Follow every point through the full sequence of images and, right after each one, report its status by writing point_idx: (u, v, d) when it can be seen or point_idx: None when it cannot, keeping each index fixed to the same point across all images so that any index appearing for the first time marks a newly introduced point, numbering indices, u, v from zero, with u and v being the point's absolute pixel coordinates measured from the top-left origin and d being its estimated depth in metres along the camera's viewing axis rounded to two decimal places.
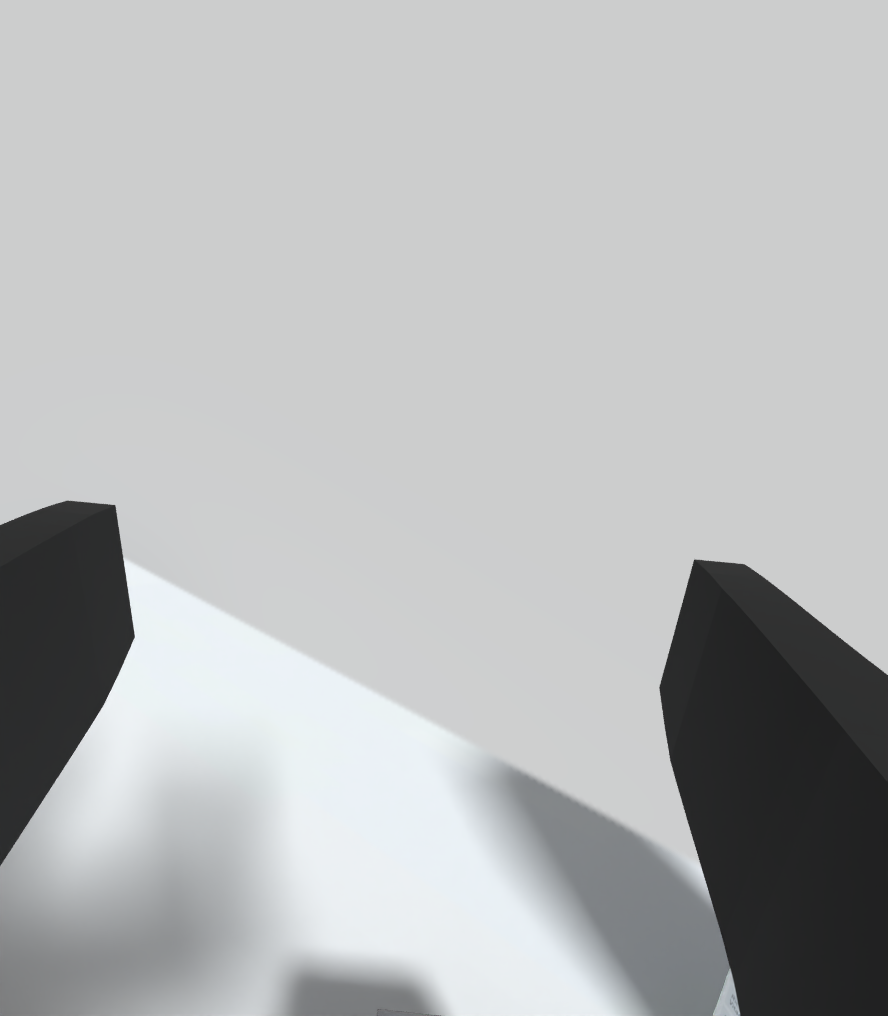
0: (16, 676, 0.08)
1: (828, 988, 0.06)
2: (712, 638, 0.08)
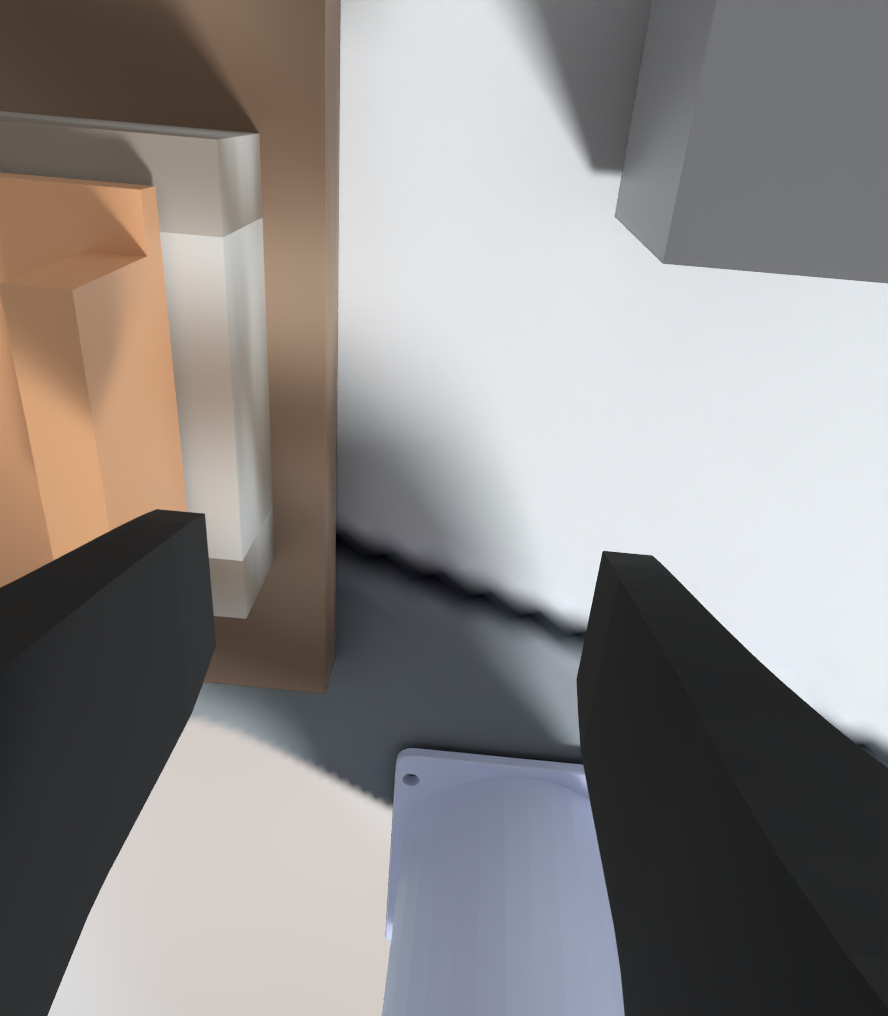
0: (125, 687, 0.08)
1: (681, 973, 0.06)
2: (611, 628, 0.08)
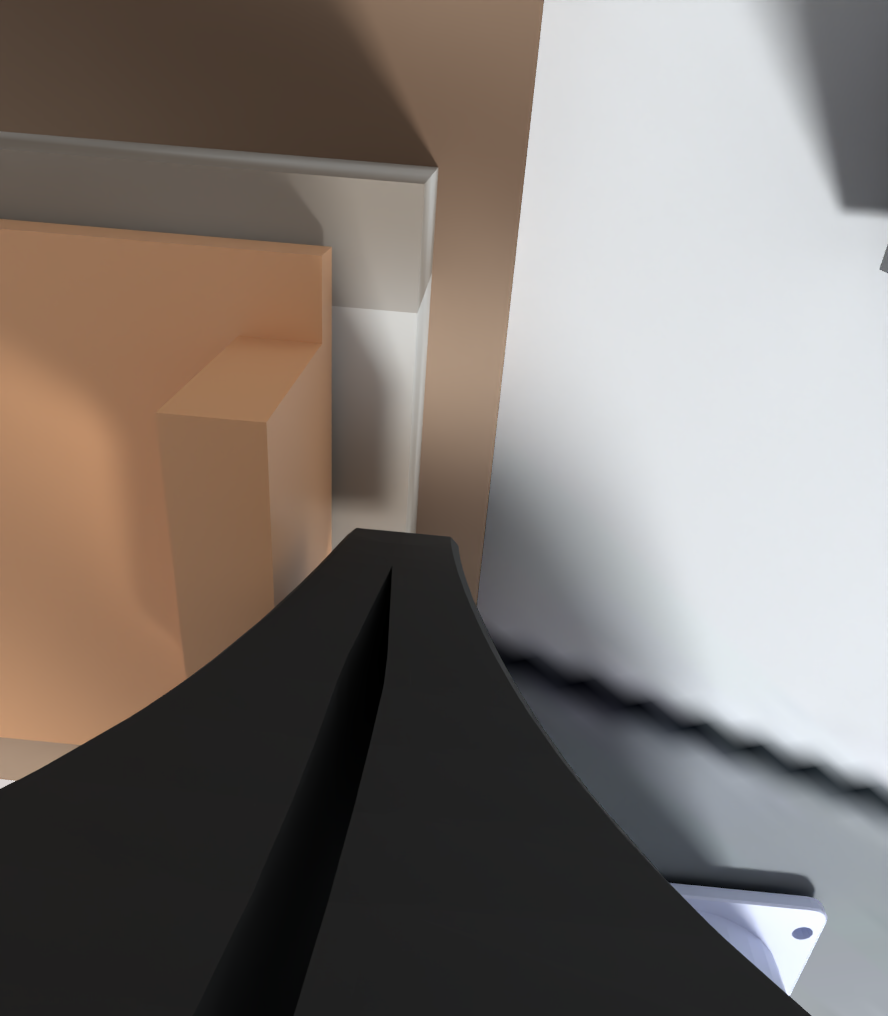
0: (367, 711, 0.08)
1: None
2: None
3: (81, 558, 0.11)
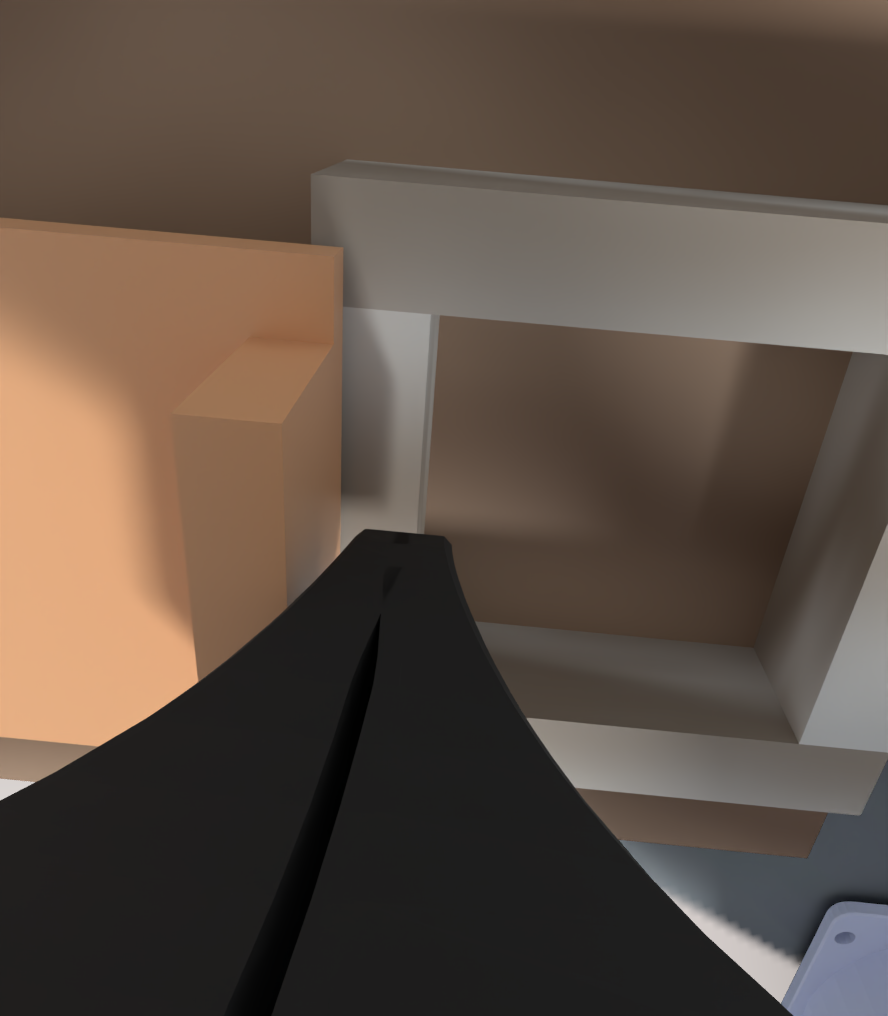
0: None
1: None
2: None
3: (90, 558, 0.11)
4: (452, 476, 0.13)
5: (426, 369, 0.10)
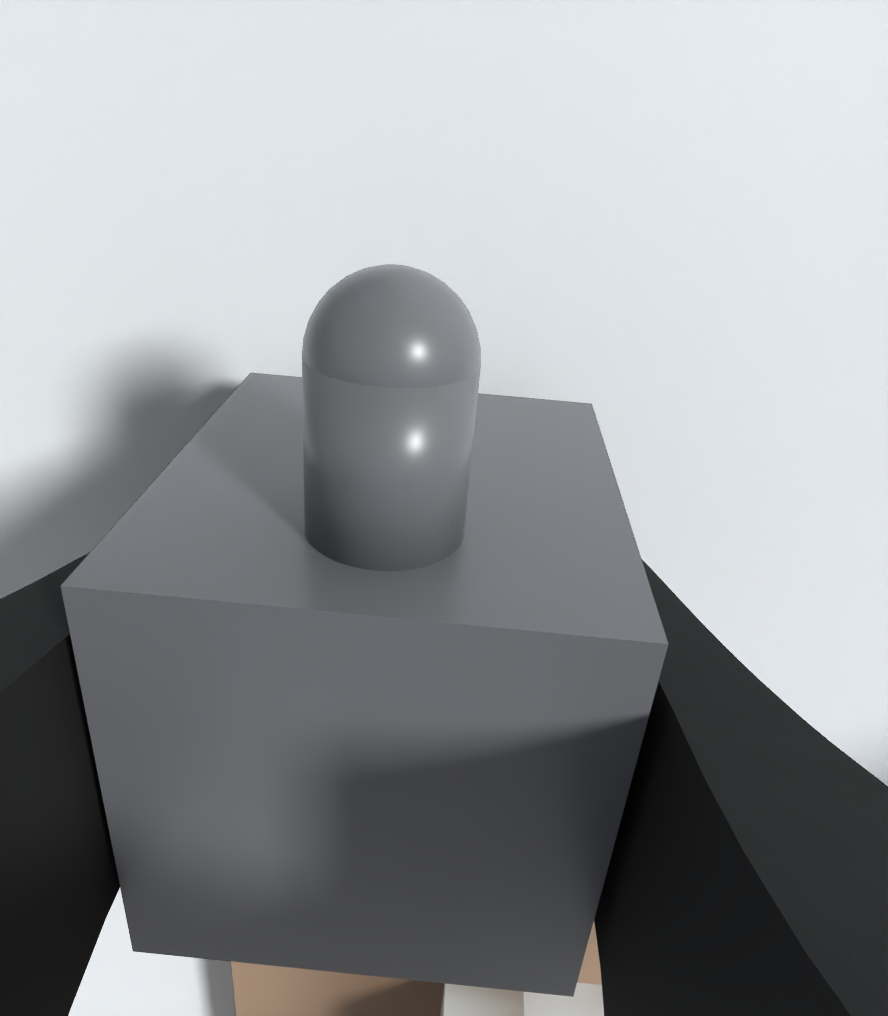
0: None
1: (655, 970, 0.06)
2: None
3: None
4: None
5: None
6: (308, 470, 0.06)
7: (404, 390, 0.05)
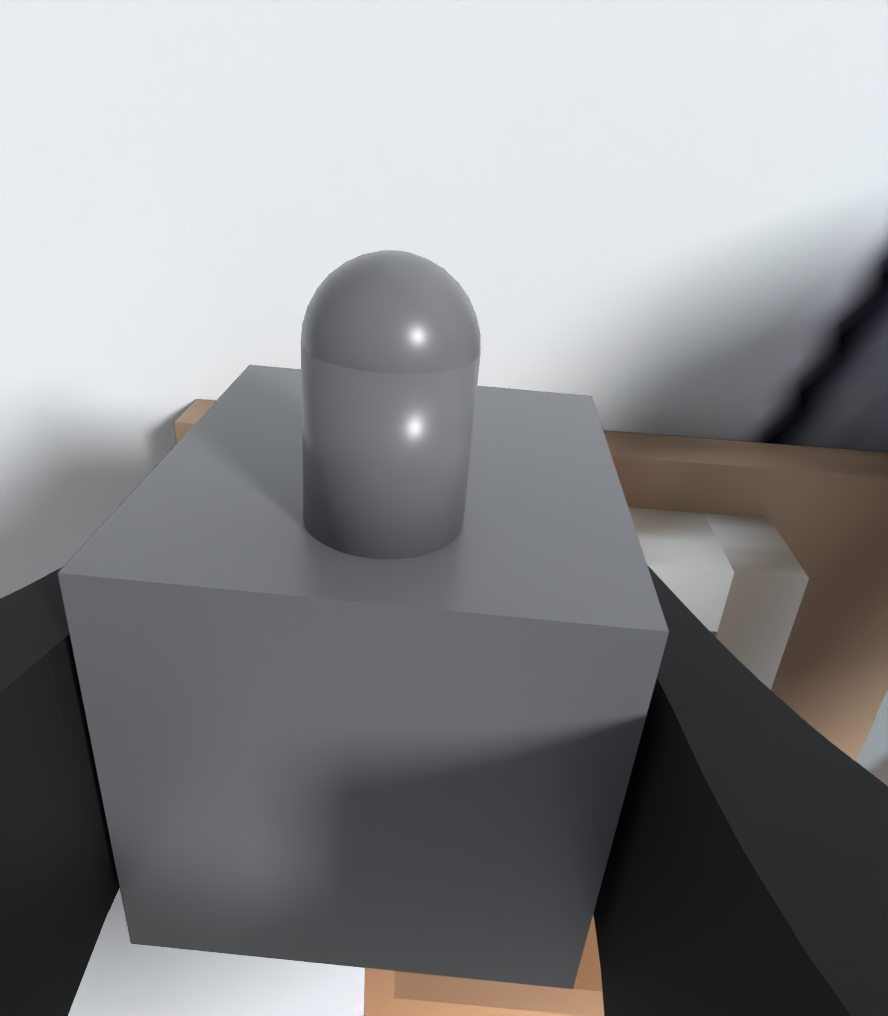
0: None
1: (656, 970, 0.06)
2: None
3: None
4: None
5: None
6: (307, 458, 0.06)
7: (403, 376, 0.05)
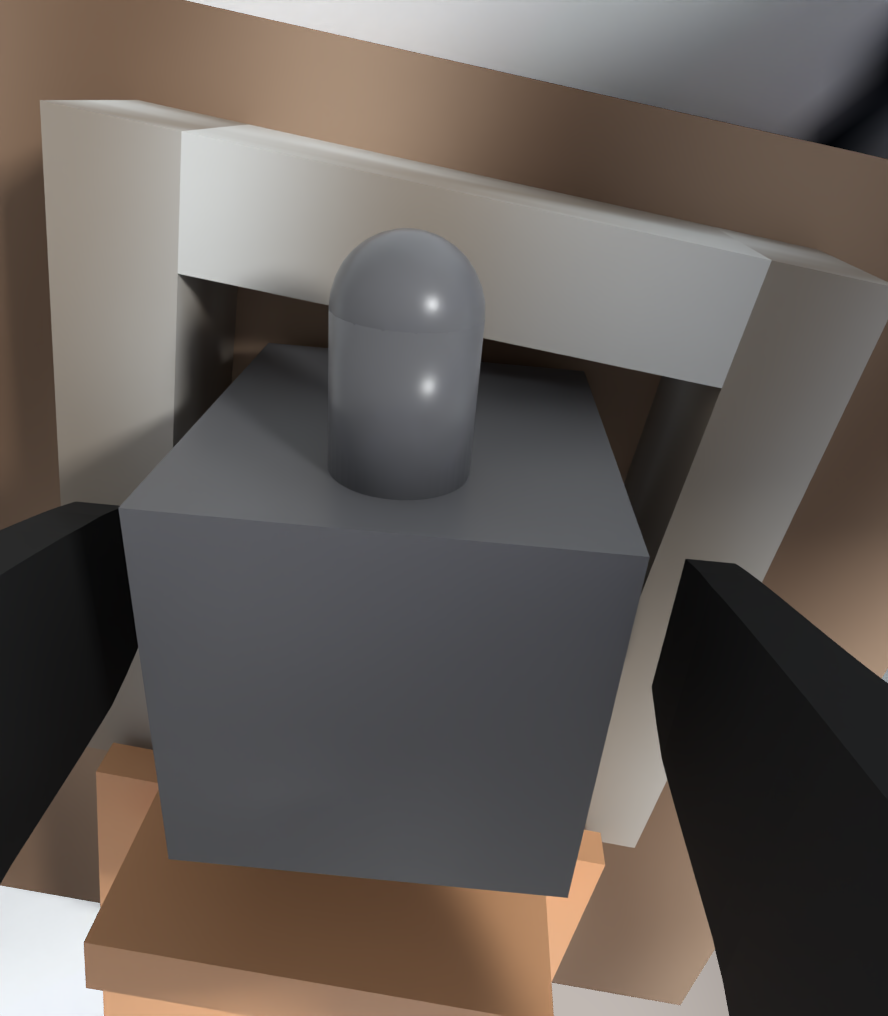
0: (26, 677, 0.08)
1: (814, 986, 0.06)
2: (702, 637, 0.08)
3: None
4: None
5: None
6: (333, 411, 0.07)
7: (419, 335, 0.06)
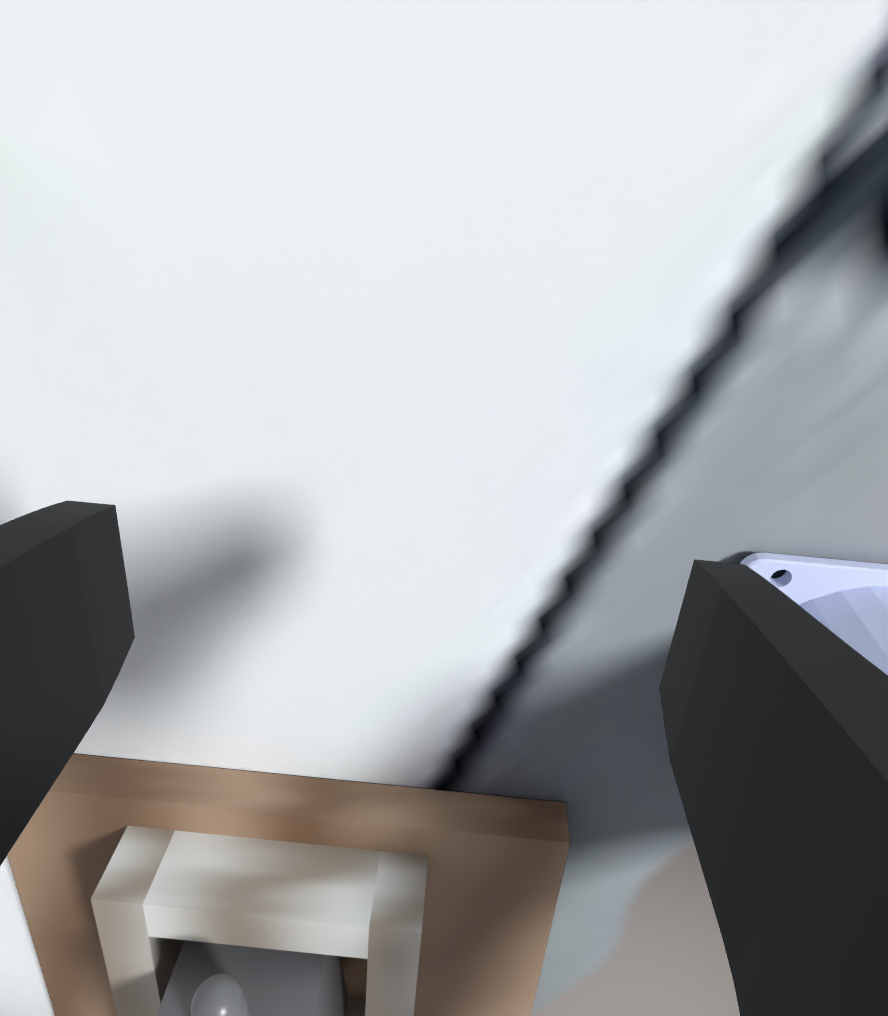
0: (16, 676, 0.08)
1: (828, 987, 0.06)
2: (712, 638, 0.08)
3: None
4: None
5: None
6: None
7: None
